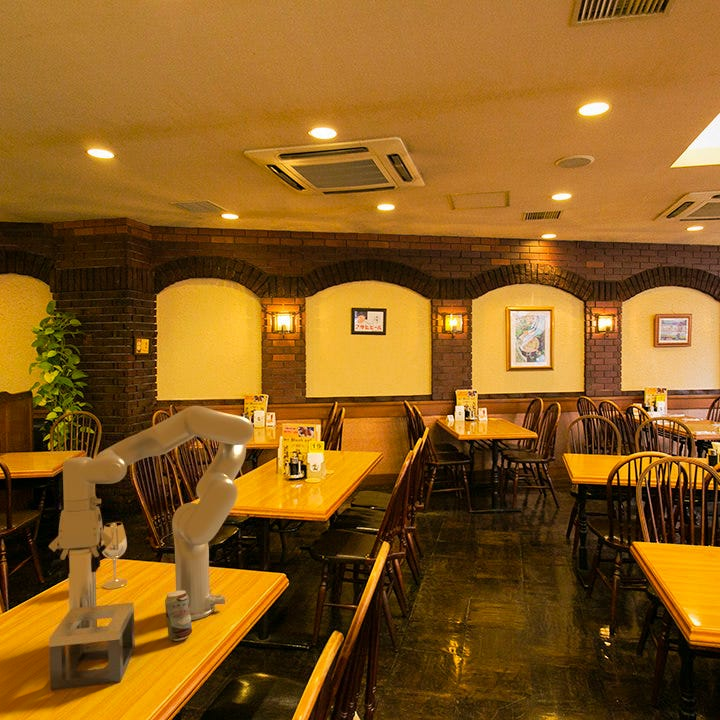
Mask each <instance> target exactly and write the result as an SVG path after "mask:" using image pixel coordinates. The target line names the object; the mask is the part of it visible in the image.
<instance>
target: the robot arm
mask: <svg viewBox="0 0 720 720" xmlns="http://www.w3.org/2000/svg"><path fill="white" fill-rule="evenodd" d="M254 430H255V429H254V424H253V423H252V422H251V421H250V420H249V419H248V418H247V417H244V416H241V415H237V414H232V413H227V412H222V411H218V410H215V409H212V408H209V407H205V406H200V405H190V406H188V407H186V408H184V409H182V410H181V411H179V412H176V413H175V414H173V415H171V416H170V417H168V418H166V419H164V420H163V421H160V422H158V423H157V424H155V425H153V426H151V427H149V428H147V429H143V430H142V431H139V432H138V433H136V434H134V435H131V436H128V437H127V438H125V439H122V440H121V441H118V442H117V443H115V444H113V445H111V446H109V447H107V448H105V449H104V450H102V451H100V452H98V454H97V455H95V457H94V458H92V457H89V456H78V457H71V458H68V459H66V460H64V462H63V464H62V480H63V483H62V484H63V509H62V510H61V513H60V518H59V525H58V535H57V536H56V538H54V540H52V541H51V542H50V544H49V545H48V548H49V549H50V550H52V552H54V553H55V554H56V555H57V557H59V558H60V560H62V571H63V572H64V575H66V576H67V575H69V570H68V553H69V549H76V548H89V547H90V549H91V551H92V553H93V556H94V557H93V558H92V572H97V571H98V569H100V567H101V554H103V553H102V552H103V551H104V550H105V548H106V547H107V546H108V545H109V544H110V543H111V542H112V539H111V538H110V537H109V536H108V535H107V534H105V533H104V532H103V530H104V525H103V520H102V514H101V509H100V506H97V505H101V504H102V499H101V498H97V495H96V484H97V485H99V484H103V485H106V484H115V483H118V482H120V481H122V480H123V479H124V478H125V476H126V475H127V472H128V471H127V470H128V466H131V465H132V464H133V463H137V462H138V461H141V460H143V459H146V458H149V457H150V458H151V457H157V456H162V455H165V454H167V453H169V452H170V451H172V450H174V449H176V448H177V447H179V446H181V445H182V444H184V443H186V442H188V441H190V440H191V439H193V438H195V437H198V438H202V439H206V440H210V441H212V442H213V441H214V442H218V450H217V452H216V454H215V456H214V458H213V459H212V461H211V462H210V465H209V466H208V467H207V468H206V470H205V471H204V473H203V474H202V476H201V478H200V479H199V480H198V482H197V483H196V487H195V493H196V495H197V497H198V498H199V499H200V500H199V501H198V502H197V503H195V502H187V503H183V504H181V505H180V506H178V508H177V509H176V510H175V511H174V514H173V516H172V521H171V522H172V523H171V524H172V525H171V526H172V535H173V541H174V542H173V543H174V544H173V545H174V565H175V566H174V567H175V569H174V571H175V591H179V590H185V591H186V593H187V594H188V596H189V606H190V615H191V621H196V620H200V619H203V618H206V617H208V616H209V615H211V614H212V613H214V611H215V610H216V605H224V604H226V596H223V595H222V594H215V595H214V594H212V589H211V588H210V560H209V559H210V551H209V550H210V549H209V542H210V541H211V540H212V539H214V537H215V536H216V534H217V533H218V532H219V530H220V528H221V527H222V525H223V524H224V522H225V521H226V519H227V517H228V516H229V514H230V513H231V512H232V510H233V508H234V506H235V504H236V501H237V499H238V486H237V484H236V483H235V479H236V477H237V475H238V474H239V472H240V470H241V468H242V467H243V464H244V463H245V459H246V456H247V455H246V454H247V443H249V442H250V441H251V440H252V438H253V437H254V432H255V431H254ZM102 540H104V542H105V543H104V544H103V545H102V546H101V545H100V543H101V541H102ZM210 589H211V590H210Z"/></svg>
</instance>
